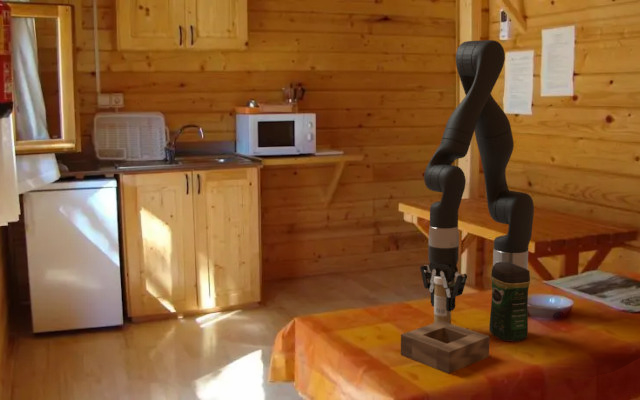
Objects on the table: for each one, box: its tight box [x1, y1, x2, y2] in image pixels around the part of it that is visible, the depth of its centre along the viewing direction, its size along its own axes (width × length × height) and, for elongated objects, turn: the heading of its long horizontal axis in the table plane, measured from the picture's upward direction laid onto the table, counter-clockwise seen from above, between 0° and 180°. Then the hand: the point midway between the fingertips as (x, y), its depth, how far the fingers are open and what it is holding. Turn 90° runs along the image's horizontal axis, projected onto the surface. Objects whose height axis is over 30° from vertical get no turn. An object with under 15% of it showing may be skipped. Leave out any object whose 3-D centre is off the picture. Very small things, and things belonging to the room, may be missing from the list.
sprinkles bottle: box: [433, 276, 452, 324], centre depth 186 cm, size 5×5×13 cm
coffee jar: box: [488, 262, 531, 342], centre depth 180 cm, size 10×8×19 cm
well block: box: [400, 321, 491, 375], centre depth 169 cm, size 14×14×5 cm
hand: (442, 307), depth 186 cm, fingers closed on sprinkles bottle, 4 cm apart
